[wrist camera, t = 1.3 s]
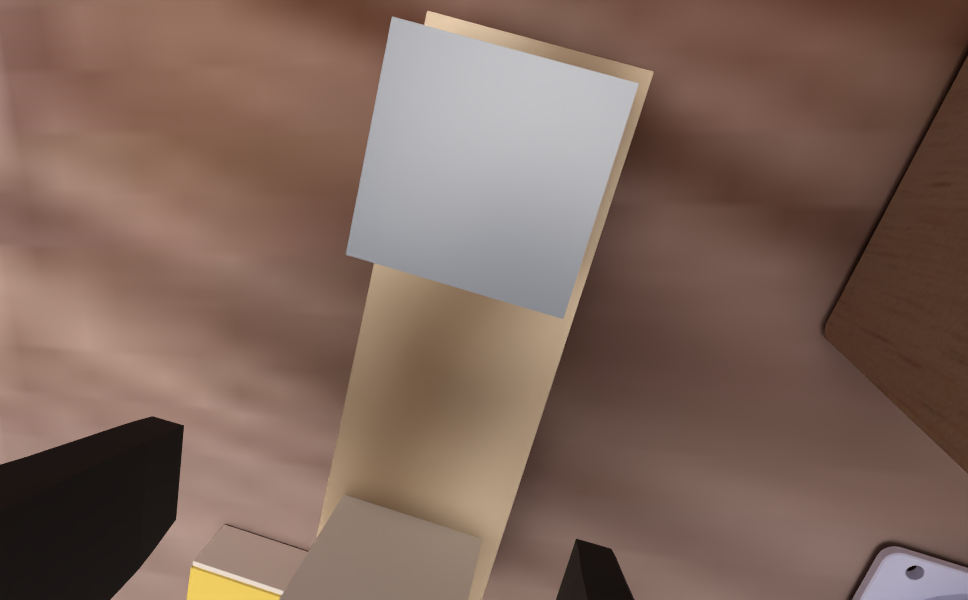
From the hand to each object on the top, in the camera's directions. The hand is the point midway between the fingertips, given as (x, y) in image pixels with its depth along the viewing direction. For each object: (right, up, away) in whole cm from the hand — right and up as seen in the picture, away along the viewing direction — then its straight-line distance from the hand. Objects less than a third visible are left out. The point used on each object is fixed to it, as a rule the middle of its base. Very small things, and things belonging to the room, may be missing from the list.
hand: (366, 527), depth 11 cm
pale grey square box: (+3, +7, +3) cm, 8 cm away
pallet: (+2, +3, +9) cm, 9 cm away
